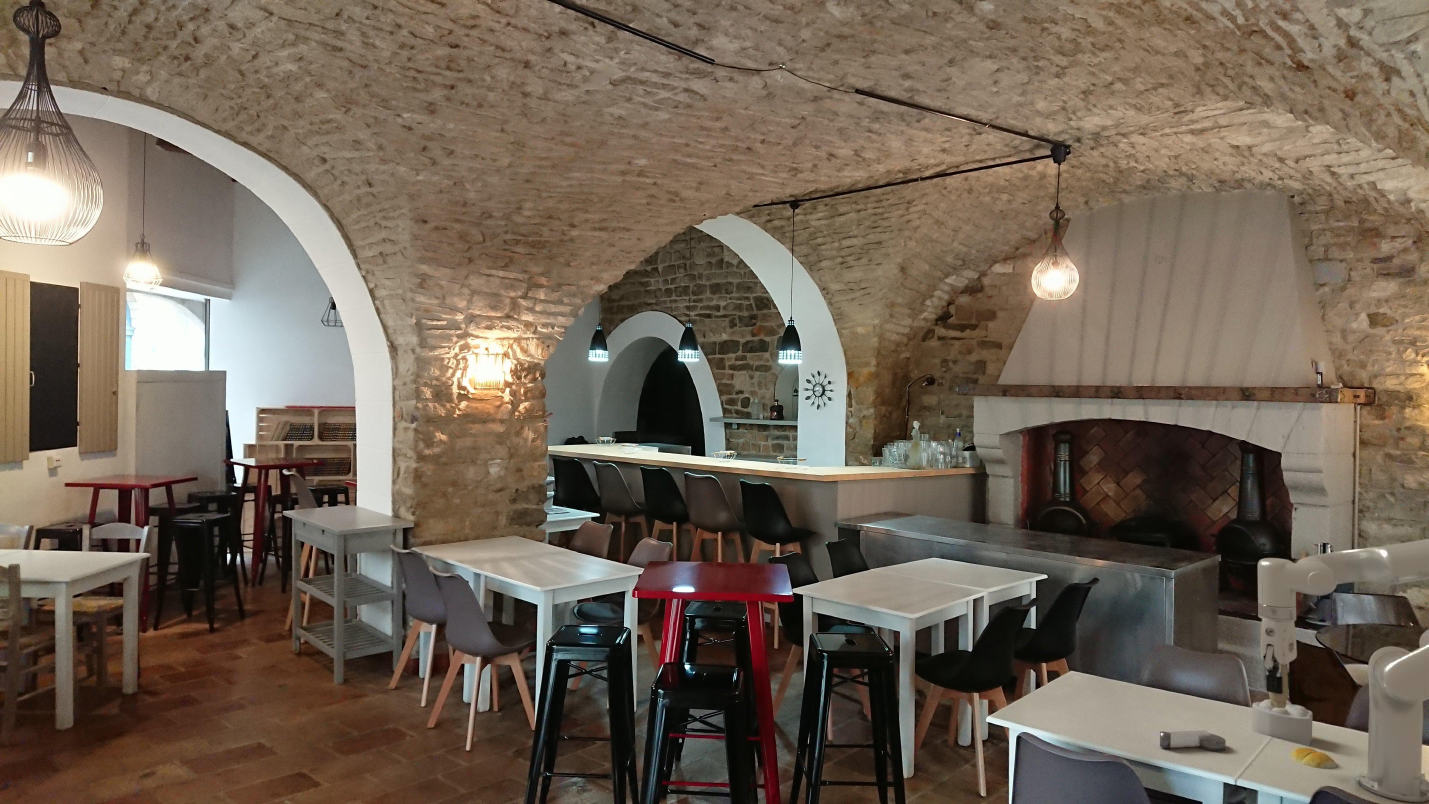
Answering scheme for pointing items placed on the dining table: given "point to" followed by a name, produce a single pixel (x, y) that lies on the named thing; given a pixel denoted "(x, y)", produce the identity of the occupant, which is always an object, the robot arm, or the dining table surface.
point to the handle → (1280, 699)
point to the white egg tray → (1283, 722)
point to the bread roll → (1313, 758)
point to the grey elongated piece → (1192, 740)
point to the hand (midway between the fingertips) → (1277, 689)
